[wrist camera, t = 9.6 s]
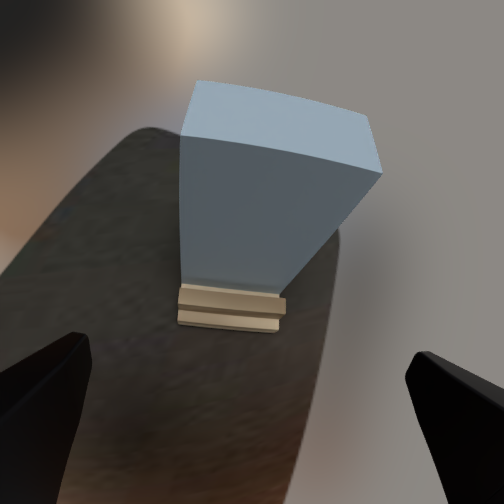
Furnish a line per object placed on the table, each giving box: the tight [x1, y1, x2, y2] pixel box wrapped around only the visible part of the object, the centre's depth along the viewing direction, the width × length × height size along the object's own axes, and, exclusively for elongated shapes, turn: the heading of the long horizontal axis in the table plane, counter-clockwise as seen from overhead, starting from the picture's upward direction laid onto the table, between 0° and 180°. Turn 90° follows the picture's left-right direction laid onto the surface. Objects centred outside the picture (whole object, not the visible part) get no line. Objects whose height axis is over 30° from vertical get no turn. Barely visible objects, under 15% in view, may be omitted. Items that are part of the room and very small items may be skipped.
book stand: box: [177, 284, 286, 333], centre depth 17 cm, size 9×6×12 cm
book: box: [179, 80, 383, 294], centre depth 15 cm, size 3×6×13 cm, turn 88°
